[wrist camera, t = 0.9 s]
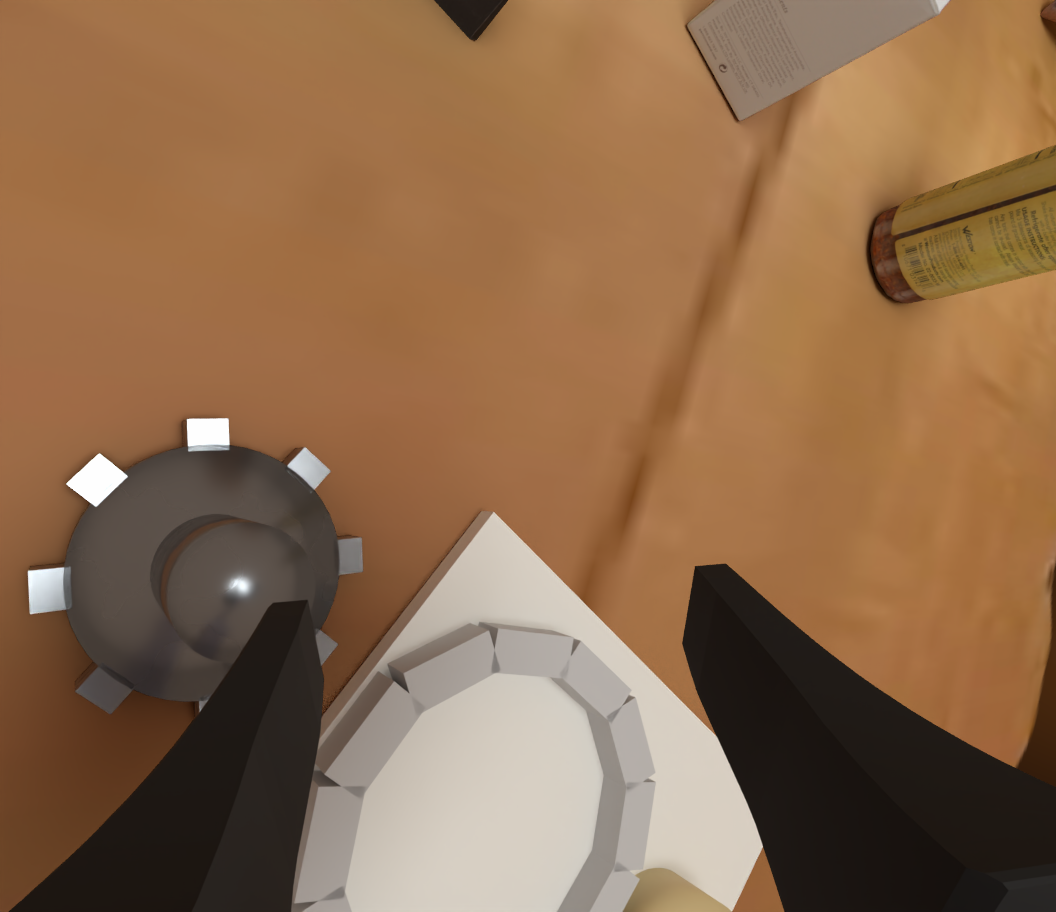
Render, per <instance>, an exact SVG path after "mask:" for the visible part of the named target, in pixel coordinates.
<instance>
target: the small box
mask: <svg viewBox="0 0 1056 912" xmlns="http://www.w3.org/2000/svg"><path fill="white" fill-rule="evenodd" d="M950 1H951V0H715V1H714V2H713V3H711V4H710V5H709V6H708V7H707V8H706V9H704V10H703V11H702V12H701V13H700V14H698V15H697V16H696V17H695V18H693V19H692V20H691V21H690V22H689V23H688V24H687V27H688V29H689V31H690V33H691V35H692V37H693V38H694V40H695V42H696V44H697V46H698V47H699V49H700V51H701V53H702V55H703V57H704V58H705V60H706V62H707V64H708V66H709V67H710V69H711V71H712V73H713V75H714V76H715V78H716V80H717V82H718V84H719V86H720V87H721V89H722V91H723V93H724V95H725V97H726V98H727V100H728V102H729V104H730V106H731V107H732V109H733V111H734V113H735V115H736V116H737V118H738V120H739V121H742V120H744V119H746V118H748V117H750V116H752V115H754V114H755V113H757V112H759V111H761V110H763V109H765V108H767V107H769V106H770V105H772V104H774V103H776V102H778V101H780V100H781V99H783V98H785V97H787V96H789V95H791V94H793V93H795V92H796V91H798V90H800V89H802V88H804V87H806V86H807V85H809V84H811V83H813V82H815V81H817V80H818V79H820V78H822V77H824V76H826V75H828V74H830V73H832V72H833V71H835V70H837V69H839V68H841V67H843V66H844V65H846V64H848V63H850V62H852V61H853V60H855V59H857V58H859V57H861V56H863V55H865V54H866V53H868V52H870V51H872V50H874V49H876V48H877V47H879V46H881V45H883V44H885V43H887V42H888V41H890V40H892V39H894V38H896V37H898V36H900V35H902V34H903V33H905V32H907V31H909V30H911V29H913V28H915V27H916V26H918V25H920V24H922V23H924V22H926V21H928V20H930V19H932V18H933V17H935V16H937V15H939V14H940V12H941V11H942V10H943V9H944V8H945V7H946V5H947V4H948V3H949V2H950Z"/></svg>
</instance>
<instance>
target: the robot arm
mask: <svg viewBox="0 0 1056 912" xmlns="http://www.w3.org/2000/svg"><path fill="white" fill-rule="evenodd" d="M682 644H683V648H684V651H685V655H686V658H687V661H688V665H689V668H690V672H691V675H692V678H693V681H694V684H695V687H696V690H697V693H698V695H699V698H700V700H701V702H702V705H703V707H704V709H705V711H706V714H707V716H708V718H709V720H710V723H711V725H712V727H713V729H714V732H715V734H716V736H717V738H718V740H719V743H720V745H721V747H722V749H723V751H724V754H725V756H726V758H727V760H728V762H729V764H730V767H731V769H732V771H733V773H734V775H735V778H736V780H737V782H738V784H739V786H740V789H741V791H742V793H743V795H744V797H745V800H746V802H747V805H748V807H749V810H750V812H751V814H752V817H753V819H754V822H755V824H756V827H757V830H758V833H759V836H760V839H761V842H762V845H763V848H764V851H765V854H766V857H767V859H768V862H769V865H770V868H771V871H772V874H773V877H774V880H775V883H776V886H777V890H778V893H779V896H780V899H781V902H782V905H783V908H784V912H1056V787H1054V786H1052V785H1050V784H1047V783H1045V782H1043V781H1041V780H1039V779H1037V778H1035V777H1033V776H1031V775H1028V774H1026V773H1024V772H1022V771H1020V770H1018V769H1016V768H1014V767H1012V766H1010V765H1008V764H1006V763H1004V762H1002V761H1000V760H998V759H996V758H994V757H992V756H990V755H988V754H987V753H985V752H983V751H981V750H979V749H977V748H975V747H973V746H971V745H970V744H968V743H966V742H964V741H962V740H961V739H959V738H957V737H955V736H954V735H952V734H950V733H948V732H947V731H945V730H943V729H941V728H940V727H938V726H936V725H934V724H933V723H931V722H929V721H928V720H926V719H924V718H923V717H921V716H919V715H918V714H916V713H915V712H913V711H911V710H910V709H908V708H907V707H905V706H904V705H902V704H901V703H899V702H898V701H896V700H895V699H893V698H892V697H890V696H888V695H887V694H885V693H884V692H882V691H881V690H879V689H878V688H876V687H875V686H874V685H872V684H871V683H869V682H868V681H866V680H865V679H864V678H862V677H861V676H859V675H858V674H857V673H855V672H854V671H853V670H851V669H850V668H849V667H847V666H846V665H845V664H843V663H842V662H841V661H839V660H838V659H837V658H836V657H834V656H833V655H832V654H830V653H829V652H828V651H826V650H825V649H824V648H823V647H821V646H820V645H819V644H818V643H816V642H815V641H814V640H813V639H812V638H810V637H809V636H808V635H807V634H805V633H804V632H803V631H802V630H801V629H799V628H798V627H797V626H796V625H795V624H794V623H792V622H791V621H790V620H789V619H788V618H787V617H785V616H784V615H783V614H782V613H781V612H780V611H779V610H777V609H776V608H775V607H774V606H773V605H772V604H771V603H769V602H768V601H767V600H766V599H765V598H764V597H763V596H762V595H760V594H759V593H758V592H757V591H756V590H755V589H754V588H753V587H752V586H750V585H749V584H748V583H747V582H746V581H745V580H744V579H743V578H742V577H740V576H739V575H738V574H737V573H736V572H735V571H734V570H733V569H731V568H730V567H729V566H728V565H727V564H716V565H704V566H695V570H694V576H693V582H692V588H691V594H690V600H689V606H688V612H687V618H686V624H685V630H684V636H683V642H682ZM323 687H324V677H323V672H322V667H321V662H320V657H319V652H318V647H317V642H316V637H315V632H314V627H313V622H312V617H311V612H310V607H309V602H308V600H298V601H287V602H275V603H272V604H271V605H270V606H269V607H268V608H267V610H266V612H265V613H264V615H263V617H262V619H261V620H260V622H259V624H258V625H257V627H256V629H255V630H254V632H253V634H252V635H251V637H250V638H249V640H248V642H247V643H246V645H245V646H244V648H243V650H242V651H241V653H240V654H239V656H238V657H237V659H236V660H235V662H234V664H233V665H232V667H231V668H230V669H229V671H228V672H227V674H226V675H225V677H224V678H223V680H222V681H221V682H220V684H219V685H218V687H217V688H216V690H215V691H214V693H213V694H212V696H211V697H210V698H209V700H208V701H207V703H206V704H205V705H204V707H203V708H202V709H201V711H200V712H199V713H198V715H197V716H196V717H195V718H194V720H193V721H192V722H191V724H190V725H189V726H188V728H187V729H186V730H185V731H184V733H183V734H182V735H181V737H180V738H179V739H178V741H177V742H176V743H175V744H174V746H173V747H172V748H171V749H170V751H169V752H168V753H167V754H166V755H165V757H164V758H163V759H162V760H161V761H160V763H159V764H158V765H157V766H156V767H155V768H154V770H153V771H152V772H151V773H150V774H149V775H148V776H147V778H146V779H145V780H144V781H143V782H142V783H141V784H140V785H139V787H138V788H137V789H136V790H135V791H134V792H133V793H132V794H131V795H130V797H129V798H128V799H127V800H126V801H125V802H124V803H123V804H122V805H121V806H120V807H119V808H118V809H117V810H116V811H115V812H114V813H113V814H112V815H111V816H110V817H109V818H108V819H107V820H106V821H105V823H104V824H103V825H102V826H101V827H100V828H99V829H98V830H97V831H96V832H95V833H94V834H93V835H92V836H91V837H90V838H89V839H88V840H87V841H86V842H85V843H84V844H83V845H82V846H81V847H80V848H79V849H77V850H76V851H75V852H74V853H73V854H72V855H71V856H70V857H69V858H68V859H67V860H66V861H65V862H63V863H62V864H61V865H60V866H59V867H58V868H57V869H56V870H55V871H54V872H52V873H51V874H50V875H49V876H48V877H47V878H46V879H45V880H44V881H42V882H41V883H40V884H39V885H38V886H37V887H36V888H35V889H34V890H32V891H31V892H30V893H29V894H28V895H27V896H26V897H25V898H24V899H23V900H21V901H20V902H19V903H18V904H17V905H16V906H15V907H13V908H12V909H11V910H10V911H9V912H291V907H292V896H293V885H294V878H295V871H296V864H297V857H298V852H299V847H300V841H301V836H302V831H303V825H304V820H305V814H306V809H307V804H308V798H309V793H310V788H311V782H312V777H313V772H314V766H315V761H316V755H317V750H318V744H319V738H320V731H321V718H322V703H323Z"/></svg>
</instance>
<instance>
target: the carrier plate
mask: <svg viewBox="0 0 1056 912" xmlns="http://www.w3.org/2000/svg"><path fill="white" fill-rule="evenodd" d="M762 847H763V845H762V842H761V839H760V836H759V833H758V830H757V827H756V824H755V822H754V819H753V817H752V814H751V812H750V810H749V807H748V805H747V802H746V800H745V797H744V795H743V793H742V791H741V789H740V786H739V784H738V782H737V780H736V778H735V775H734V773H733V771H732V769H731V767H730V764H729V762H728V760H727V758H726V756H725V754H724V751H723V749H722V747H721V745H720V743H719V740H718V738H717V737H716V736H715V735H714V734H713V733H712V732H711V731H710V730H709V729H708V728H707V727H706V726H705V725H704V724H703V723H702V722H701V721H700V720H699V719H698V718H697V717H696V716H695V715H694V714H693V712H692V711H691V710H690V709H689V708H688V707H687V706H686V705H685V704H684V703H683V702H682V701H681V700H680V699H679V698H678V697H677V696H676V695H675V694H674V693H673V692H672V691H671V690H670V689H669V688H668V687H667V686H666V685H665V684H664V683H663V682H662V681H661V680H660V679H659V678H658V677H657V676H656V675H655V674H654V673H653V672H652V671H651V670H650V669H649V668H648V667H647V666H646V665H645V664H644V663H643V662H642V661H641V660H640V659H639V658H638V657H637V656H636V655H635V654H634V653H633V652H632V651H631V650H630V649H629V648H628V647H627V646H626V645H625V644H624V643H623V642H622V641H621V640H620V639H619V638H618V637H617V636H616V635H615V634H614V633H613V632H612V631H611V630H610V629H609V628H608V627H607V626H606V625H605V624H604V623H603V622H602V621H601V620H600V619H599V618H598V617H597V616H596V615H595V614H594V613H593V612H592V611H591V610H590V609H589V608H588V607H587V605H586V604H585V603H584V602H583V601H582V600H581V599H580V598H579V597H578V596H577V595H576V594H575V593H574V592H573V591H572V590H571V589H570V588H569V587H568V586H567V585H566V584H565V583H564V582H563V581H562V580H561V579H560V578H559V577H558V576H557V575H556V574H555V573H554V572H553V571H552V570H551V569H550V568H549V567H548V566H547V565H546V564H545V563H544V562H543V561H542V560H541V559H540V558H539V557H538V556H537V555H536V554H535V553H534V552H533V551H532V550H531V549H530V548H529V547H528V546H527V545H526V544H525V543H524V542H523V541H522V540H521V539H520V538H519V537H518V536H517V535H516V534H515V533H514V532H513V531H512V530H511V529H510V528H509V527H508V526H507V525H506V524H505V523H504V522H503V521H502V520H501V519H500V518H499V517H498V516H497V515H496V514H495V513H494V512H488V511H481V512H480V514H479V515H478V516H477V517H476V519H475V520H474V521H473V523H472V524H471V525H470V526H469V528H468V529H467V530H466V532H465V533H464V534H463V536H462V537H461V538H460V539H459V541H458V542H457V543H456V545H455V546H454V547H453V548H452V550H451V551H450V552H449V554H448V555H447V556H446V557H445V559H444V560H443V561H442V563H441V564H440V565H439V566H438V568H437V569H436V570H435V572H434V573H433V574H432V575H431V577H430V578H429V579H428V581H427V582H426V583H425V584H424V586H423V587H422V588H421V590H420V591H419V592H418V593H417V595H416V596H415V597H414V599H413V600H412V601H411V602H410V604H409V605H408V606H407V608H406V609H405V610H404V611H403V613H402V614H401V615H400V617H399V618H398V619H397V620H396V622H395V623H394V624H393V626H392V627H391V628H390V629H389V631H388V632H387V633H386V635H385V636H384V637H383V638H382V640H381V641H380V642H379V644H378V645H377V646H376V648H375V649H374V650H373V651H372V653H371V654H370V655H369V657H368V658H367V659H366V660H365V662H364V663H363V664H362V666H361V667H360V668H359V669H358V671H357V672H356V673H355V675H354V676H353V677H352V678H351V680H350V681H349V682H348V684H347V685H346V686H345V687H344V689H343V690H342V691H341V693H340V694H339V695H338V696H337V698H336V699H335V700H334V702H333V703H332V704H331V705H330V707H329V708H328V709H327V711H326V712H325V713H324V714H323V716H322V718H321V731H320V738H319V744H318V750H317V755H316V761H315V766H314V772H313V777H312V782H311V788H310V793H309V798H308V804H307V809H306V814H305V820H304V825H303V831H302V836H301V841H300V847H299V852H298V857H297V864H296V871H295V878H294V885H293V896H292V907H291V912H732V911H733V908H734V906H735V904H736V902H737V900H738V898H739V896H740V894H741V892H742V889H743V887H744V885H745V883H746V881H747V879H748V877H749V875H750V873H751V871H752V868H753V866H754V864H755V862H756V860H757V858H758V856H759V854H760V852H761V849H762Z"/></svg>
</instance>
